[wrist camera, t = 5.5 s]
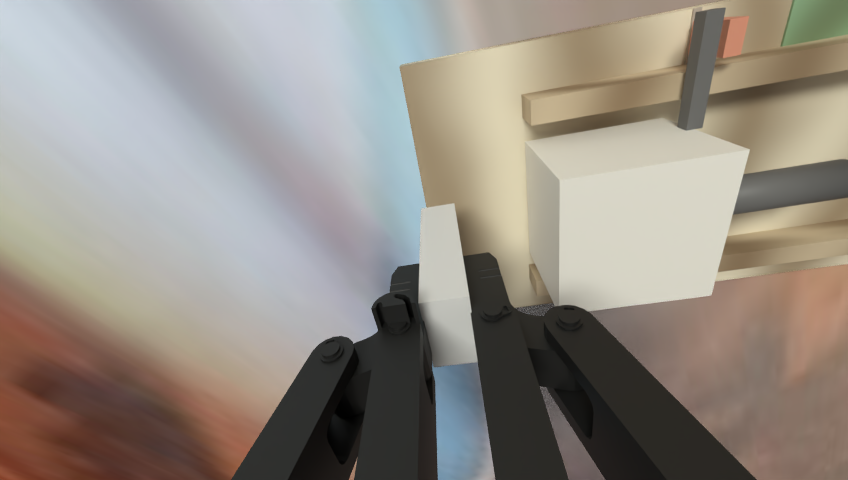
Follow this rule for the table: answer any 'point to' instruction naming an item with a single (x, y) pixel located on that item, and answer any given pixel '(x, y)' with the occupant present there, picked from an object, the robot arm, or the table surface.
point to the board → (634, 102)
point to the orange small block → (731, 36)
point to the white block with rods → (652, 198)
